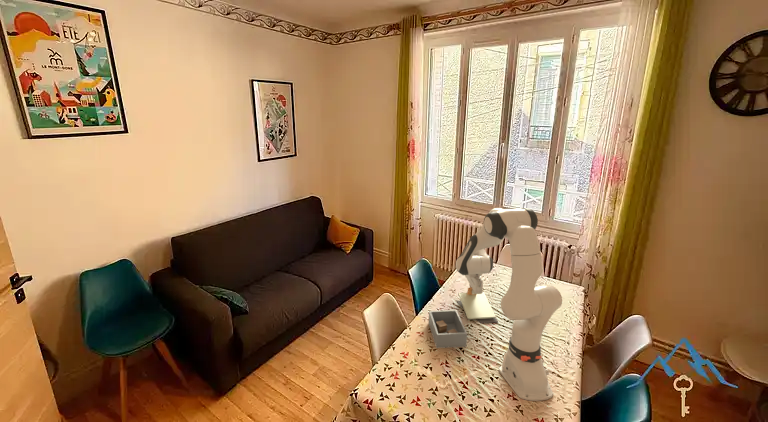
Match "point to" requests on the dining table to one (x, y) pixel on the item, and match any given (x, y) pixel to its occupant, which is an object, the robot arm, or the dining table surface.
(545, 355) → the dining table surface
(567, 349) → the dining table surface
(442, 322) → the part block
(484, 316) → the lid
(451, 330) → the part block
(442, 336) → the tub
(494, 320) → the mat
